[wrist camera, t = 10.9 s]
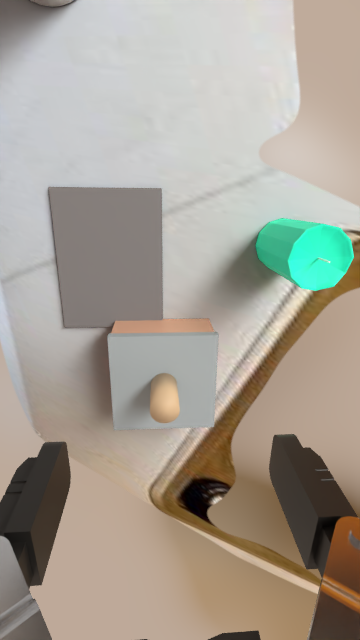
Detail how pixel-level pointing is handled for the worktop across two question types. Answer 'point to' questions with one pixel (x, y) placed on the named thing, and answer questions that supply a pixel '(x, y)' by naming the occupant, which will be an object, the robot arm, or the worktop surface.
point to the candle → (305, 252)
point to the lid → (163, 379)
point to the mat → (108, 254)
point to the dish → (163, 326)
